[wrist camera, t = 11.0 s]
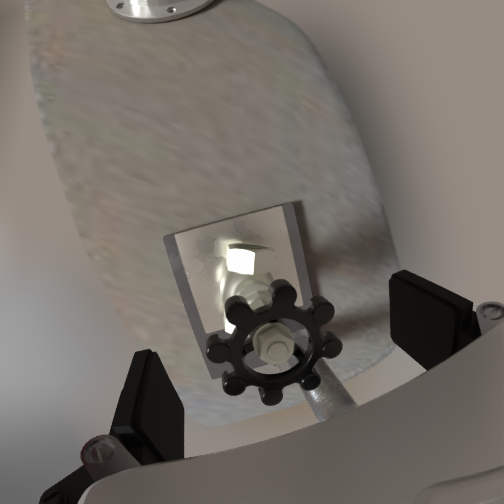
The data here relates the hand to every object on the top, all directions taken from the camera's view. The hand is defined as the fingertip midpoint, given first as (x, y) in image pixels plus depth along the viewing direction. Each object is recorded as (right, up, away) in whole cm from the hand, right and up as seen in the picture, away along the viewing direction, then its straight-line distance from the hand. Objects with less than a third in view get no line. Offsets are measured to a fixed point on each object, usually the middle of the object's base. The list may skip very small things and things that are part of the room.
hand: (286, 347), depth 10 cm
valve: (-2, +1, +14) cm, 15 cm away
